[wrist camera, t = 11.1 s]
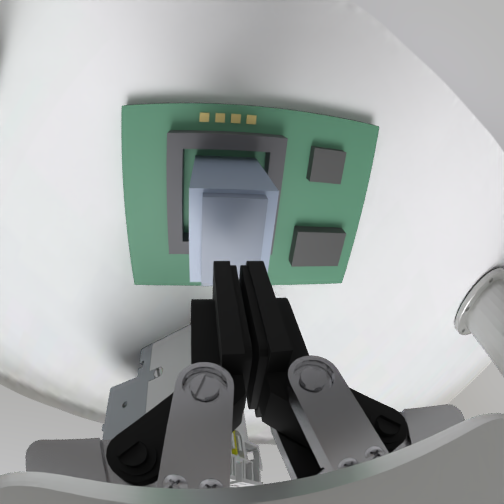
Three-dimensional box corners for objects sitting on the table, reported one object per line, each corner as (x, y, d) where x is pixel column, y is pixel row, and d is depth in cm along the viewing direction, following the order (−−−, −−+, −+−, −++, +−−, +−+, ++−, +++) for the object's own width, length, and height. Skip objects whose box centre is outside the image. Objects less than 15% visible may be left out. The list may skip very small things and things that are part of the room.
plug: (255, 157, 19) (282, 195, 13) (248, 226, 22) (268, 291, 15) (195, 155, 18) (188, 192, 12) (193, 225, 21) (189, 291, 14)
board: (371, 124, 20) (389, 129, 18) (336, 275, 27) (347, 292, 25) (126, 105, 17) (115, 107, 15) (137, 276, 24) (131, 295, 22)
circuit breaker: (107, 365, 29) (88, 483, 17) (202, 318, 27) (211, 472, 14) (150, 395, 33) (146, 501, 20) (243, 357, 31) (266, 485, 18)
